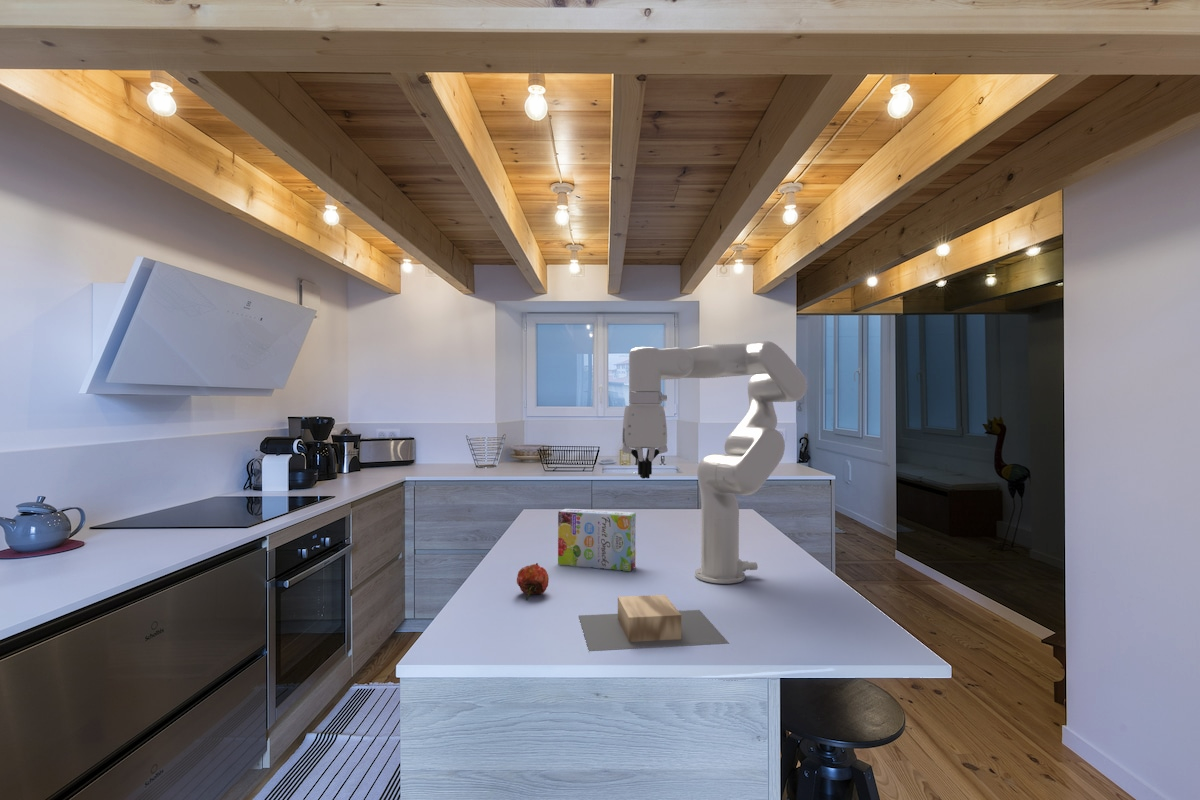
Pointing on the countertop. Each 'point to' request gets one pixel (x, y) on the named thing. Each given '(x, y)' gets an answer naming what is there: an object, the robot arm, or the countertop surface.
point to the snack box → (597, 539)
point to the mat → (610, 636)
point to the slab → (649, 618)
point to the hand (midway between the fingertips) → (644, 477)
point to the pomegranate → (532, 579)
